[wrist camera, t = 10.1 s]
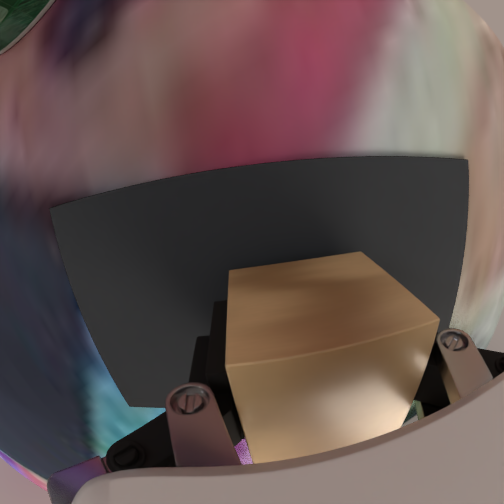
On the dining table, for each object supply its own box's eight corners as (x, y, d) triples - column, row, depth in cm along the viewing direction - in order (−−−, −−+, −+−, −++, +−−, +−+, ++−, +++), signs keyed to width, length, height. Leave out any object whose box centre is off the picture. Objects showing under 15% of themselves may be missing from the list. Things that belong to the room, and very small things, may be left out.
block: (247, 371, 11) (254, 468, 7) (228, 269, 10) (224, 365, 5) (354, 352, 11) (398, 433, 7) (361, 250, 10) (441, 318, 5)
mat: (129, 404, 13) (129, 406, 13) (51, 207, 10) (49, 208, 9) (439, 351, 14) (440, 352, 14) (465, 159, 10) (468, 159, 10)
